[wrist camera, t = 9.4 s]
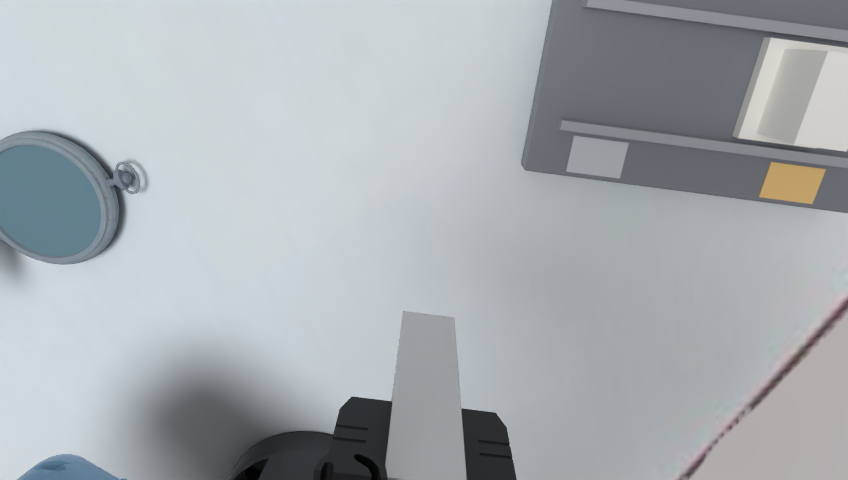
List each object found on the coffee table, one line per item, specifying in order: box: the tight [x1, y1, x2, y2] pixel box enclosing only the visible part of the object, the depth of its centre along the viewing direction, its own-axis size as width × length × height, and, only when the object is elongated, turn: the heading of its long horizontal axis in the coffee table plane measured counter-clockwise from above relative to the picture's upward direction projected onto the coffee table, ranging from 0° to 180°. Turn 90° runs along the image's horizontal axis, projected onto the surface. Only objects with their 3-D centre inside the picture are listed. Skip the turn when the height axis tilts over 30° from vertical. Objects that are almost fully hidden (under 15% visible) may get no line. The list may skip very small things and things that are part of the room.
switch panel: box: [521, 0, 848, 213], centre depth 35 cm, size 14×22×3 cm, turn 82°
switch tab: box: [732, 37, 848, 152], centre depth 32 cm, size 6×5×5 cm
